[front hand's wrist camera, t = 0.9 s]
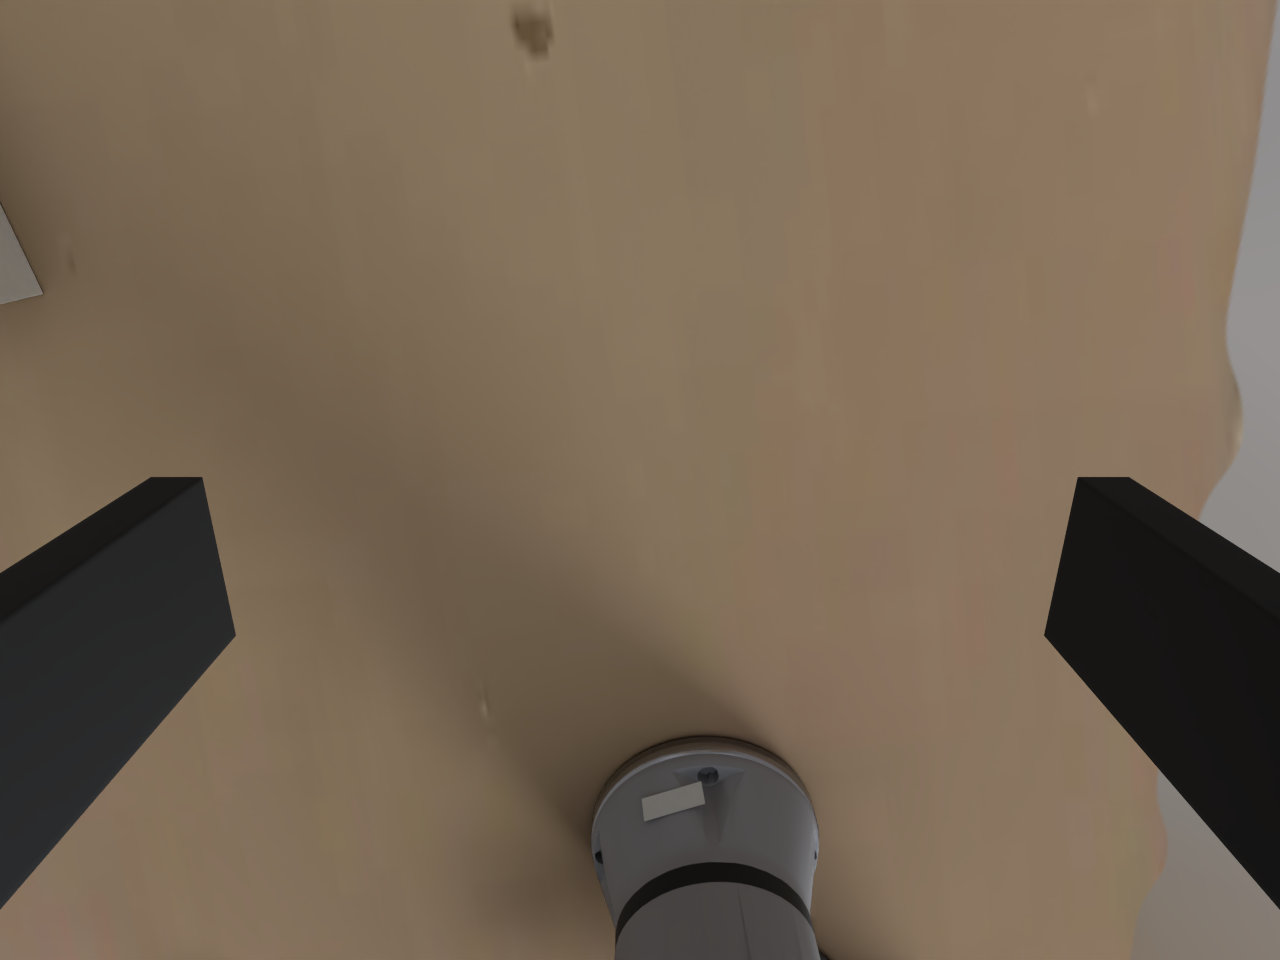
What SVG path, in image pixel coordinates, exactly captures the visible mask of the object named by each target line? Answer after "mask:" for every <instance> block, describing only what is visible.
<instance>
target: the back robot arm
mask: <svg viewBox="0 0 1280 960" xmlns="http://www.w3.org/2000/svg"><path fill="white" fill-rule="evenodd" d="M591 850H592V857H593V861H594V866H595V870H596V873H597V876H598V879H599V881H600V883H601V887H602V891H603V894H604V897H605V900H606V903H607V906H608V909H609V912H610V914H611V917H612V920H613V923H614V926H615V929H616V940H615V960H829V959H827V958H826V957H825V956H824V955H823V954H822V953H821V952H819V951H818V947H817V943H816V939H815V935H814V930H813V926H812V921H811V917H810V908H811V896H812V886H813V874H814V872H815V868H816V865H817V858H818V852H819V830H818V824H817V820H816V816H815V812H814V809H813V805H812V801H811V799H810V796H809V793H808V791H807V789H806V787H805V785H804V784H803V782H802V781H801V779H800V778H799V777H798V776H797V774H796V773H795V772H794V771H793V770H792V769H791V768H790V767H789V766H788V765H787V764H786V763H784V762H783V761H782V760H780V759H779V758H778V757H776V756H774V755H773V754H771V753H770V752H768V751H766V750H764V749H762V748H759V747H757V746H754V745H752V744H749V743H745V742H742V741H738V740H733V739H728V738H719V737H693V738H686V739H680V740H675V741H671V742H667V743H664V744H661V745H658V746H656V747H653V748H651V749H649V750H646V751H644V752H642V753H641V754H639V755H637V756H636V757H634V758H632V759H631V760H630V761H628V762H627V763H626V764H624V765H623V766H622V767H621V768H620V769H619V770H618V771H616V773H615V774H614V775H613V776H612V777H611V778H610V779H609V781H608V782H607V783H606V785H605V786H604V788H603V790H602V791H601V793H600V795H599V798H598V800H597V802H596V806H595V809H594V814H593V820H592V834H591Z"/></svg>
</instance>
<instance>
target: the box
mask: <svg viewBox="0 0 1280 960" xmlns="http://www.w3.org/2000/svg"><path fill="white" fill-rule="evenodd" d="M42 294H43V292H42V290H41V288H40V286H39V284H38V282H37V280H36V277H35V275H34V273H33V271H32V269H31V267H30V265H29V263H28V261H27V259H26V257H25V254H24V252H23V250H22V248H21V246H20V244H19V242H18V240H17V238H16V236H15V234H14V231H13V229H12V227H11V225H10V223H9V221H8V219H7V217H6V215H5V213H4V211H3V209H2V206H1V204H0V304H4V303H8V302H13V301H17V300H21V299H25V298H29V297H34V296H38V295H42Z"/></svg>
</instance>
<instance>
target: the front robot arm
mask: <svg viewBox="0 0 1280 960" xmlns="http://www.w3.org/2000/svg"><path fill="white" fill-rule="evenodd" d="M235 636H236V634H235V629H234V624H233V620H232V615H231V610H230V606H229V601H228V596H227V591H226V587H225V582H224V577H223V573H222V568H221V563H220V559H219V554H218V549H217V545H216V540H215V535H214V530H213V526H212V521H211V516H210V512H209V507H208V502H207V498H206V493H205V488H204V484H203V479H202V477H150V478H149V479H147V480H146V481H144V482H143V483H141V484H140V485H138V486H136V487H135V488H133V489H132V490H130V491H129V492H127V493H125V494H124V495H122V496H121V497H119V498H118V499H116V500H114V501H113V502H111V503H110V504H108V505H107V506H105V507H103V508H102V509H100V510H99V511H97V512H96V513H94V514H92V515H91V516H89V517H88V518H86V519H85V520H83V521H81V522H80V523H78V524H77V525H75V526H74V527H72V528H70V529H69V530H67V531H66V532H64V533H63V534H61V535H60V536H58V537H56V538H55V539H53V540H52V541H50V542H49V543H47V544H45V545H44V546H42V547H41V548H39V549H38V550H36V551H34V552H33V553H31V554H30V555H28V556H27V557H25V558H23V559H22V560H20V561H19V562H17V563H16V564H14V565H12V566H11V567H9V568H8V569H6V570H5V571H3V572H1V573H0V909H1V908H2V907H3V906H4V905H5V903H6V902H7V901H8V900H9V899H10V898H11V896H12V895H13V894H14V893H15V892H16V891H17V889H18V888H19V887H20V886H21V885H22V884H23V882H24V881H25V880H26V879H27V878H28V877H29V875H30V874H31V873H32V872H33V871H34V870H35V869H36V867H37V866H38V865H39V864H40V863H41V862H42V860H43V859H44V858H45V857H46V856H47V855H48V853H49V852H50V851H51V850H52V849H53V848H54V846H55V845H56V844H57V843H58V842H59V841H60V839H61V838H62V837H63V836H64V835H65V834H66V832H67V831H68V830H69V829H70V828H71V827H72V825H73V824H74V823H75V822H76V821H77V820H78V818H79V817H80V816H81V815H82V814H83V813H84V812H85V810H86V809H87V808H88V807H89V806H90V805H91V803H92V802H93V801H94V800H95V799H96V798H97V796H98V795H99V794H100V793H101V792H102V791H103V789H104V788H105V787H106V786H107V785H108V784H109V782H110V781H111V780H112V779H113V778H114V777H115V775H116V774H117V773H118V772H119V771H120V770H121V768H122V767H123V766H124V765H125V764H126V763H127V762H128V760H129V759H130V758H131V757H132V756H133V755H134V753H135V752H136V751H137V750H138V749H139V748H140V746H141V745H142V744H143V743H144V742H145V741H146V739H147V738H148V737H149V736H150V735H151V734H152V732H153V731H154V730H155V729H156V728H157V727H158V725H159V724H160V723H161V722H162V721H163V720H164V718H165V717H166V716H167V715H168V714H169V713H170V711H171V710H172V709H173V708H174V707H175V706H176V705H177V703H178V702H179V701H180V700H181V699H182V698H183V696H184V695H185V694H186V693H187V692H188V691H189V689H190V688H191V687H192V686H193V685H194V684H195V682H196V681H197V680H198V679H199V678H200V677H201V675H202V674H203V673H204V672H205V671H206V670H207V668H208V667H209V666H210V665H211V664H212V663H213V661H214V660H215V659H216V658H217V657H218V656H219V655H220V653H221V652H222V651H223V650H224V649H225V648H226V646H227V645H228V644H229V643H230V642H231V641H232V639H233V638H234V637H235ZM1044 636H1045V637H1046V638H1047V639H1048V641H1049V642H1050V643H1051V644H1052V645H1053V646H1054V648H1055V649H1056V650H1057V651H1058V652H1059V653H1060V655H1061V656H1062V657H1063V658H1064V659H1065V660H1066V661H1067V663H1068V664H1069V665H1070V666H1071V667H1072V668H1073V670H1074V671H1075V672H1076V673H1077V674H1078V675H1079V677H1080V678H1081V679H1082V680H1083V681H1084V682H1085V684H1086V685H1087V686H1088V687H1089V688H1090V689H1091V691H1092V692H1093V693H1094V694H1095V695H1096V696H1097V698H1098V699H1099V700H1100V701H1101V702H1102V703H1103V705H1104V706H1105V707H1106V708H1107V709H1108V710H1109V712H1110V713H1111V714H1112V715H1113V716H1114V717H1115V718H1116V720H1117V721H1118V722H1119V723H1120V724H1121V725H1122V727H1123V728H1124V729H1125V730H1126V731H1127V732H1128V734H1129V735H1130V736H1131V737H1132V738H1133V739H1134V741H1135V742H1136V743H1137V744H1138V745H1139V746H1140V748H1141V749H1142V750H1143V751H1144V752H1145V753H1146V755H1147V756H1148V757H1149V758H1150V759H1151V760H1152V762H1153V763H1154V764H1155V765H1156V766H1157V767H1158V768H1159V770H1160V771H1161V772H1162V773H1163V774H1164V775H1165V777H1166V778H1167V779H1168V780H1169V781H1170V782H1171V784H1172V785H1173V786H1174V787H1175V788H1176V789H1177V791H1178V792H1179V793H1180V794H1181V795H1182V796H1183V798H1184V799H1185V800H1186V801H1187V802H1188V803H1189V805H1190V806H1191V807H1192V808H1193V809H1194V810H1195V812H1196V813H1197V814H1198V815H1199V816H1200V817H1201V818H1202V820H1203V821H1204V822H1205V823H1206V824H1207V825H1208V827H1209V828H1210V829H1211V830H1212V831H1213V832H1214V834H1215V835H1216V836H1217V837H1218V838H1219V839H1220V841H1221V842H1222V843H1223V844H1224V845H1225V846H1226V848H1227V849H1228V850H1229V851H1230V852H1231V853H1232V855H1233V856H1234V857H1235V858H1236V859H1237V860H1238V862H1239V863H1240V864H1241V865H1242V866H1243V867H1244V868H1245V870H1246V871H1247V872H1248V873H1249V874H1250V875H1251V877H1252V878H1253V879H1254V880H1255V881H1256V882H1257V884H1258V885H1259V886H1260V887H1261V888H1262V889H1263V891H1264V892H1265V893H1266V894H1267V895H1268V896H1269V897H1270V899H1271V900H1272V901H1273V902H1274V903H1275V905H1276V906H1277V907H1278V908H1279V909H1280V573H1278V572H1277V571H1275V570H1274V569H1272V568H1271V567H1269V566H1268V565H1266V564H1264V563H1263V562H1261V561H1260V560H1258V559H1257V558H1255V557H1253V556H1252V555H1250V554H1249V553H1247V552H1246V551H1244V550H1242V549H1241V548H1239V547H1238V546H1236V545H1235V544H1233V543H1231V542H1230V541H1228V540H1227V539H1225V538H1224V537H1222V536H1220V535H1219V534H1217V533H1216V532H1214V531H1213V530H1211V529H1209V528H1208V527H1206V526H1205V525H1203V524H1202V523H1200V522H1199V521H1197V520H1195V519H1194V518H1192V517H1191V516H1189V515H1188V514H1186V513H1184V512H1183V511H1181V510H1180V509H1178V508H1177V507H1175V506H1173V505H1172V504H1170V503H1169V502H1167V501H1166V500H1164V499H1162V498H1161V497H1159V496H1158V495H1156V494H1155V493H1153V492H1151V491H1150V490H1148V489H1147V488H1145V487H1144V486H1142V485H1140V484H1139V483H1137V482H1136V481H1134V480H1133V479H1131V478H1130V477H1078V479H1077V484H1076V488H1075V493H1074V498H1073V502H1072V507H1071V512H1070V516H1069V521H1068V526H1067V530H1066V535H1065V540H1064V545H1063V549H1062V554H1061V559H1060V563H1059V568H1058V573H1057V577H1056V582H1055V587H1054V591H1053V596H1052V601H1051V606H1050V610H1049V615H1048V620H1047V624H1046V629H1045V634H1044Z"/></svg>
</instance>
